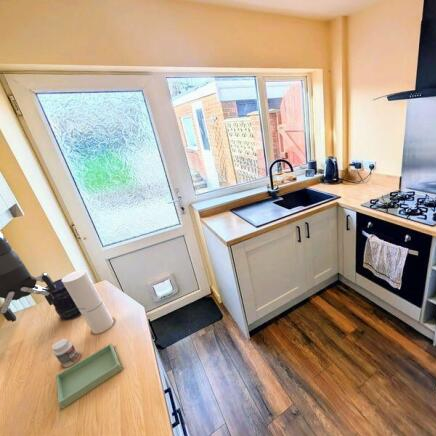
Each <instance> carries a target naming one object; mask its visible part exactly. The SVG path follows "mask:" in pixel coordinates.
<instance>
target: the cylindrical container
mask: <svg viewBox="0 0 436 436" xmlns="http://www.w3.org/2000/svg"><path fill="white" fill-rule="evenodd" d="M61 279H62V282H63V284H64V286H65V287H66V289H67V291H68V292H69V294H70V296H71V297H72V299H73V301H74V302H75V304H76V306H77V307H78V309H79V311H80V312H81V316H82V317H83V319H84V321H85V322H86V324H87V325H88V327H89V329H90V331H91V332H92V333H93V335H94V334H95V335H98V334H101V333H104V332H106V331H107V330H109V329H110V328H111V327H112V326H113V325H114V320H113V318H112V315H111V314H110V312H109V310H108V308H107V305H105V303H104V301H103V299H102V297H101V295H100V293H99V292H98V290H97V288H96V286H95V283H94V282H93V280H92V279H91V277H90V275H89V273H88V271H87V270H86V269H79V270H74V271H72V272H70V273H67V274H66V275H65V276H63V277H62V278H61Z"/></svg>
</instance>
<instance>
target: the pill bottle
mask: <svg viewBox="0 0 436 436" xmlns="http://www.w3.org/2000/svg"><path fill="white" fill-rule="evenodd" d="M51 349H52V351H53V355H54V357H55V358H56V359H57V360H58V362H59V363H60V364H61V366H62V367H64V368H67V367H68V368H69V367H71V366H73V365H75V364H76V363H77V362H78V360H79V359H80V358H81V357H80V354H79V352H78V351H77V349H76V348H75V346H74V345H73V343H72V342H70V341H69V340H68V338H62V339H60V340H58V341H56V342H55V343H54V344H53V345H52V346H51Z"/></svg>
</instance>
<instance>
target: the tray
mask: <svg viewBox="0 0 436 436" xmlns="http://www.w3.org/2000/svg"><path fill="white" fill-rule="evenodd" d="M122 370H123V368H122V366H121V363H120V360H119V357H118V355H117V352H116V350H115V348H114V346H113V344H112V343H109V344H107V345H105V346H104V347H102V348H100V349H99V350H97V351H94V353H92V354H90V355H88V356H87V357H85V358H83V359H81V360H80V361H77V362H75V363H74V364H72V365H71V366H68V368H66V369H64V370H63V371H61V372H59V373H58V374H56V375H55V382H56V383H55V384H56V392H57V393H56V394H57V402H58V405H59V406H60V408H62V409H64V408H66V407H67V406H69V405H71V404H72V403H73V402H75V401H77V400H79V398H81V397H83V396H84V395H86V394H88V393H89V392H90V391H92V390H93V389H95V388H97V387H98V386H100V385H101V384H103V383H104V382H106V381H107V380H109V379H110V378H111V377H113V376H115V375H116V374H118V373H119V372H121V371H122Z"/></svg>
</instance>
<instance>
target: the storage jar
mask: <svg viewBox="0 0 436 436" xmlns="http://www.w3.org/2000/svg"><path fill="white" fill-rule="evenodd" d="M62 279H63V278H60V279H57V280H55V281H53V282H54V284H55V285H56V290H55V291H52V292H51V294H52V296H53V297H54V302H53V305H52V306H53V307H54V310H55V312H56V314H57V315H58V316H59V317H60V318H61V320H62V321H69V320H73V319H75V318H78V317H79V316H82V314H81V312H80V311H79V309H78V307H77V306H76V304H75V302H74V301H73V299H72V297H71V296H70V294H69V292H68V291H67V289H66V287H65V286H64V284H63V282H62ZM44 288H46V289H47V288H49V287H48V286H47V285H46V286H45V287H44Z"/></svg>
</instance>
